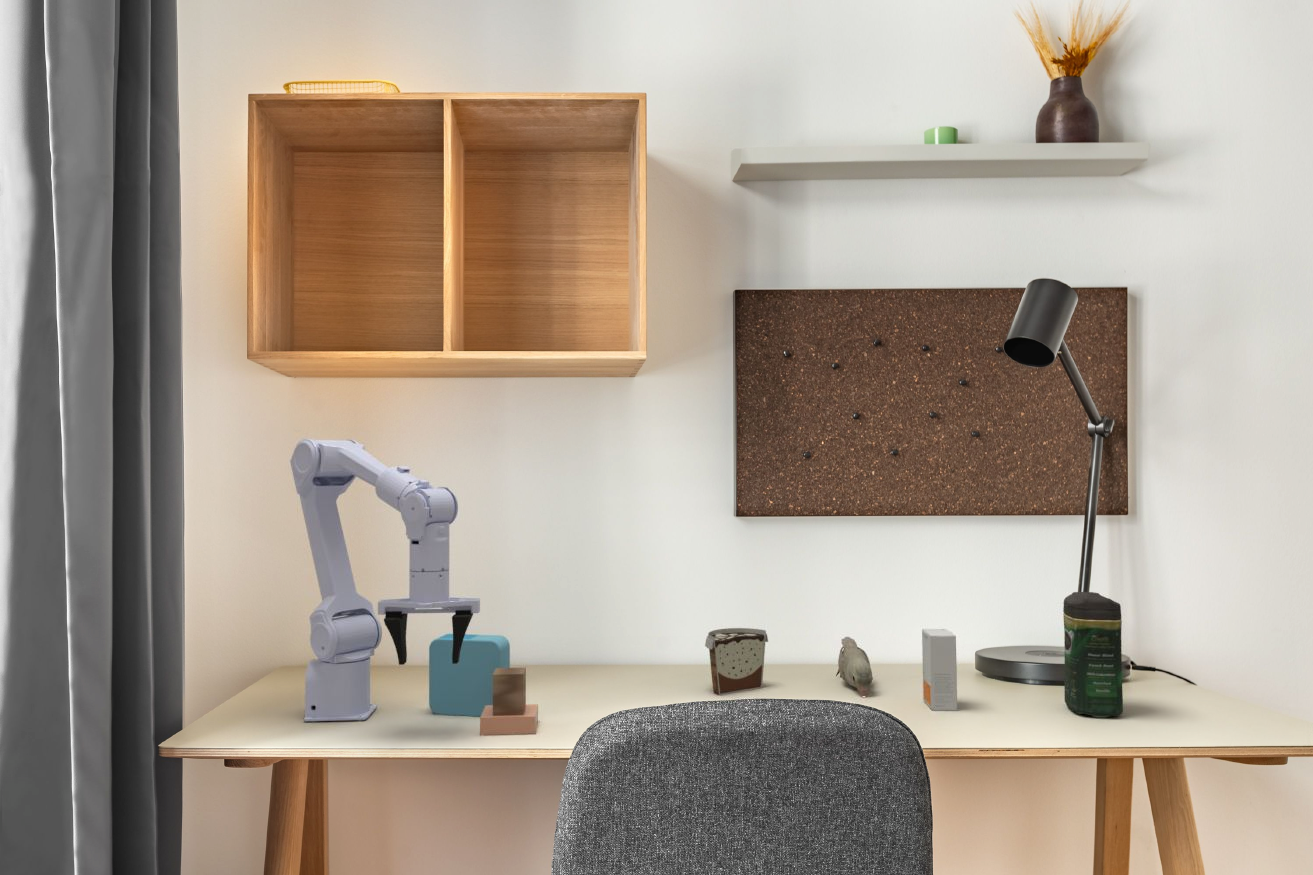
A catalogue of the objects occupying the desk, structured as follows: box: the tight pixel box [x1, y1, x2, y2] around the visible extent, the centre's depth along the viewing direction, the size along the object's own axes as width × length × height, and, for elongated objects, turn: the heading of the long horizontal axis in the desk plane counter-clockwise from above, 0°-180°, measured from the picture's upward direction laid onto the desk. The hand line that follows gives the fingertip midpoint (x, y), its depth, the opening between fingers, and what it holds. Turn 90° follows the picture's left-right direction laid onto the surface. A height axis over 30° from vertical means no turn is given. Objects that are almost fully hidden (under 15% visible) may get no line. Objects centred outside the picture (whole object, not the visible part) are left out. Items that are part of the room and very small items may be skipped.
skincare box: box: [921, 628, 958, 712], centre depth 151 cm, size 6×4×12 cm
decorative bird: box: [835, 636, 874, 697], centre depth 164 cm, size 5×16×8 cm, turn 179°
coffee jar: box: [1062, 591, 1124, 718], centre depth 147 cm, size 10×8×19 cm
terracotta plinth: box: [479, 703, 539, 736], centre depth 139 cm, size 8×7×2 cm
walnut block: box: [493, 666, 527, 716], centre depth 139 cm, size 4×4×6 cm
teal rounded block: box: [428, 633, 511, 718], centre depth 148 cm, size 12×4×12 cm, turn 79°
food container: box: [704, 627, 769, 696], centre depth 163 cm, size 12×6×10 cm, turn 122°
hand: (429, 662), depth 136 cm, fingers open, 7 cm apart
